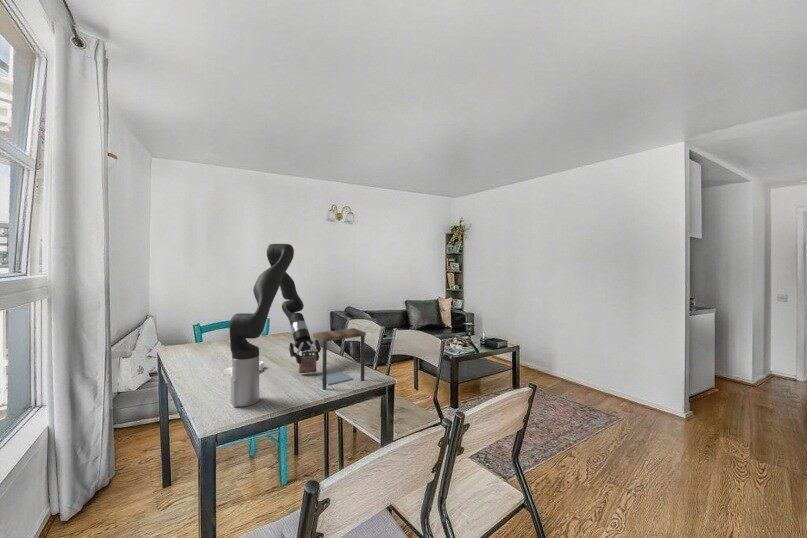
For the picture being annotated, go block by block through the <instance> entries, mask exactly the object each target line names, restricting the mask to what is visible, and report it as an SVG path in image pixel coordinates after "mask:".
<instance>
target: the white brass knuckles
mask: <svg viewBox="0 0 807 538" xmlns="http://www.w3.org/2000/svg"><path fill="white" fill-rule="evenodd" d="M263 368H264V369H265V362H264V361H261V360H259V371H260V372H261V371H262V370H264V369H263ZM222 371H223V372H222V373H223V374H224V375H225V374H226V375H225V376H230V378H231V377H232V366H231V367H227V368H225V369H223V370H222Z"/></svg>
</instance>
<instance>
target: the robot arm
mask: <svg viewBox="0 0 807 538" xmlns="http://www.w3.org/2000/svg"><path fill="white" fill-rule="evenodd" d="M294 255H295V249H294V247H293V245H292V244H289V243H270V244H269V245H268V246H267V248H266V257H267V261H268V262H269V265H270V267H269V268H267V269H266V270H264V271H262V273H260V275H259V276H258V277H257V279H256V281H255V283H254V285H253V290H252V291H253V294H254V298H255V300H256V303H257V308H256V310H255V312H253V313H250V312H249V313H248V312H247V313H244V312H243V313H242V312H240V313H235V314H233V315H232V317H231V319H230V322H229V342H230V352H231V365H232V366H231V367H232V377H231V376H230V402H231V404H232V406H233V408H237V407H241V408H242V407H247V406H248V407H249V406H251V405H255V404H257V403H258V402H260V372H259V361H260V348H259V347H258V346H257V345H254V344H252V343H250V342H249V341H248V340H247V339H257V338H259V337H260V336H261V335H262V333H263V332H264V329H265V326H266V323H267V321H268V320H267V319H268V316H269V313H270V309H271V307H272V304H273V302H274V300H275V298H276V296H277V293H278V291H279V289H280V291H281V296H282V298H283V299H284V300H285V301H283V303H282V304H281V309H282V312H283V313H284V315H285V316H286V317H287V319H288V320H289V325H290V328H291V335H292V338H293V342H294V343H292V342H290V343H289V345H288V350H289V355H290V357H291V358H293V357H294V358H295V361H296V363H297V364H298V365H299V364H300V363H301V359H300V356H301V355H300V353H301V352H302V351H306V350H308V351H312V350H315V353H314V354H313V355H317V357H316V362H319V359H320V353H321V350H322V347H321V345H320V342H319V340H318V339H315V340H313V341H312V339H311V335H310V332H309V328H308V326H307V324H306V321H305V317H304V315H303V313H302V312H301V311H303V309H304V307H305V305H304V302H303V300H302V298H300V295H299V294H298V291H297V287H296V283H295V281H294V280H293V278H292V277H291V276H290V275H289V274H288V273H287V270H288V269H289V267H290V265H291V263H292V262H293V259H294V257H295V256H294ZM294 348H296V349H297V351H296V352H295V349H294Z"/></svg>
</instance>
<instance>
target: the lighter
mask: <svg viewBox="0 0 807 538" xmlns="http://www.w3.org/2000/svg"><path fill="white" fill-rule="evenodd" d="M314 353H315V350H312V351H309V350H306V351H301V355H300V359H301V363H300V364H298V374H311V373H313V374H314V373H317V371H318V370H317V361H316V357H317V355H314Z"/></svg>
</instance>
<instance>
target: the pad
mask: <svg viewBox="0 0 807 538" xmlns="http://www.w3.org/2000/svg"><path fill="white" fill-rule="evenodd" d="M317 378H318V379H319V378H320V379H321V380H320V379H319V380H320V381H322V382H323V374H322V375H321V374H320V375H317ZM348 380H349V381H352V380H354V378H353V377H351V376H350V375H348V374H347V373H345V372H343V371H342V370H341V371H335V372H331V373H327V381H326V385H327V384H328V385H327V386H330V384H331V385H334V383H336V384H339V382H340V383H344V382H348ZM343 381H344V382H343Z"/></svg>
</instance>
